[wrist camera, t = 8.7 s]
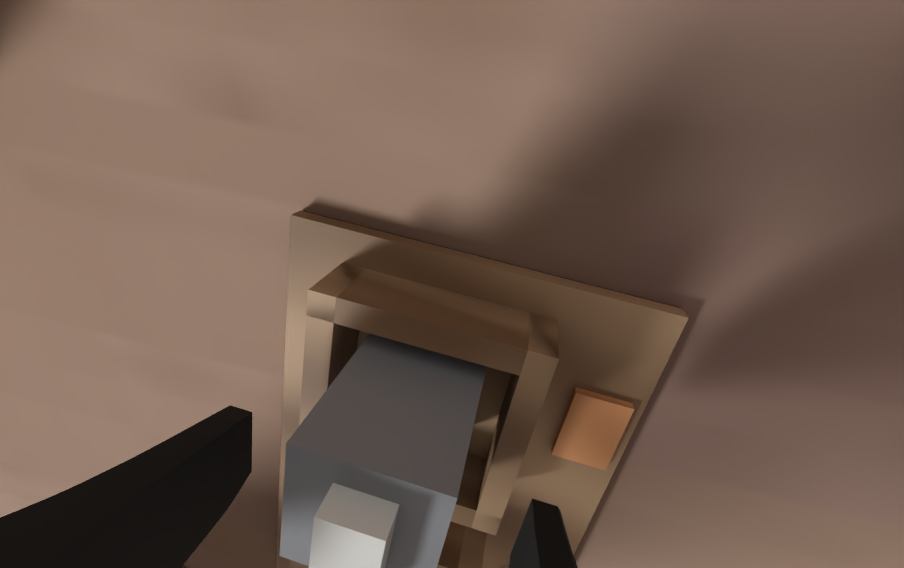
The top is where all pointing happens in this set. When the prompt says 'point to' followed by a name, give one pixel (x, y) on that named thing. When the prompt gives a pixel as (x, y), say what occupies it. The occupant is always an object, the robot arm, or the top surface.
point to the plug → (380, 460)
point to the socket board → (489, 344)
